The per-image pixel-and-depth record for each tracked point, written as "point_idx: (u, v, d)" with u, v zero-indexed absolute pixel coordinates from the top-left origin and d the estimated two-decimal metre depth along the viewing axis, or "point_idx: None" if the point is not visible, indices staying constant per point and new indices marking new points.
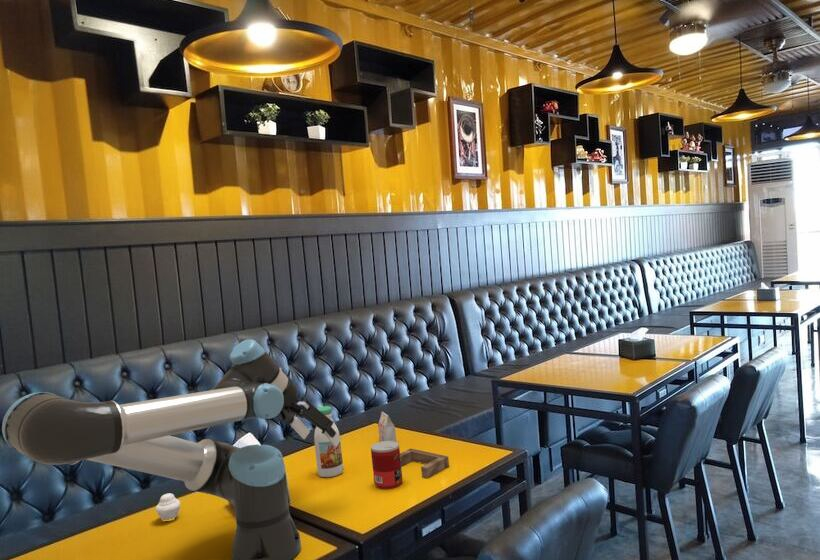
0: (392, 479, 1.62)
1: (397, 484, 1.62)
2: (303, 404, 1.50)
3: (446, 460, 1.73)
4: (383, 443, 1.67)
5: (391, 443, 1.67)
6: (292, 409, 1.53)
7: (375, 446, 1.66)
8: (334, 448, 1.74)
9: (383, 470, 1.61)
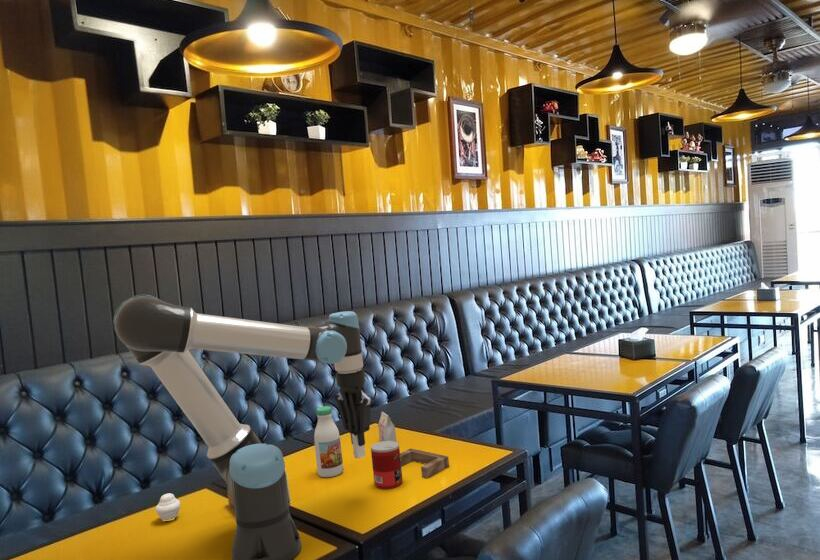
0: (392, 479, 1.62)
1: (397, 484, 1.62)
2: (368, 400, 1.52)
3: (446, 460, 1.73)
4: (383, 443, 1.67)
5: (391, 443, 1.67)
6: (353, 397, 1.54)
7: (375, 446, 1.66)
8: (334, 448, 1.74)
9: (383, 470, 1.61)
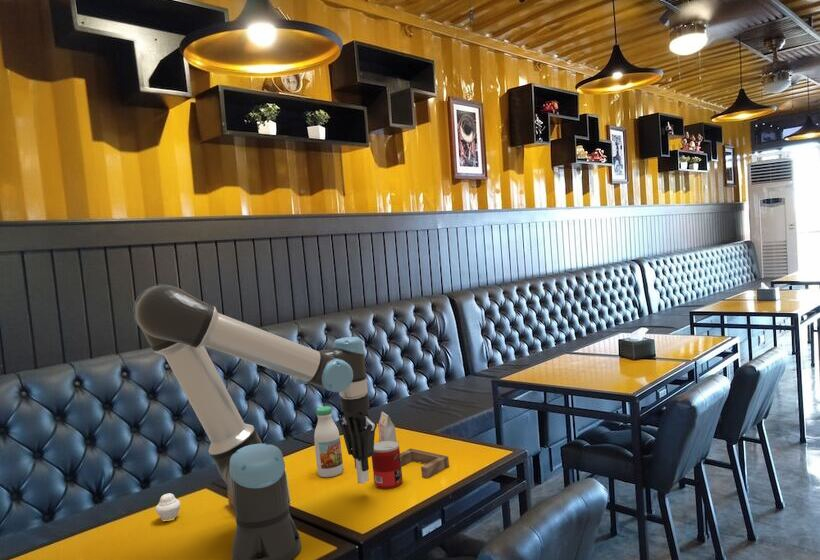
0: (392, 479, 1.62)
1: (397, 484, 1.62)
2: (372, 426, 1.53)
3: (446, 460, 1.73)
4: (383, 443, 1.67)
5: (391, 443, 1.67)
6: (357, 423, 1.55)
7: (375, 446, 1.66)
8: (334, 448, 1.74)
9: (383, 470, 1.61)
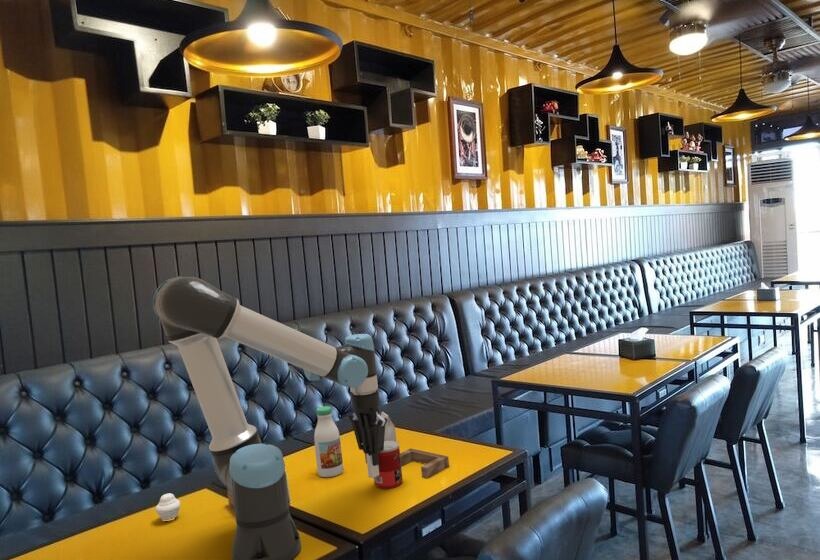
0: (392, 479, 1.62)
1: (397, 484, 1.62)
2: (383, 421, 1.56)
3: (446, 460, 1.73)
4: None
5: (391, 443, 1.67)
6: (368, 418, 1.58)
7: None
8: (334, 448, 1.74)
9: (383, 470, 1.61)
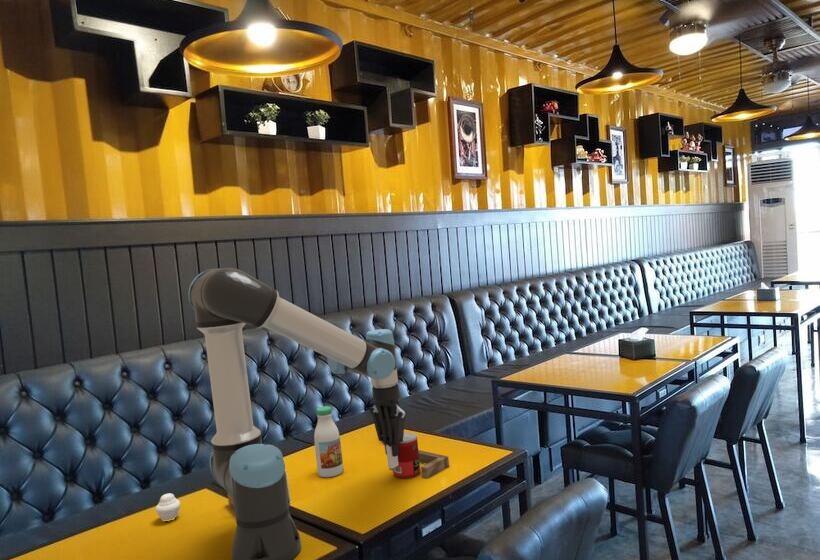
0: (411, 469, 1.67)
1: (415, 474, 1.68)
2: (403, 413, 1.61)
3: (446, 460, 1.73)
4: None
5: (409, 434, 1.72)
6: (388, 410, 1.63)
7: None
8: (334, 448, 1.74)
9: (402, 461, 1.67)
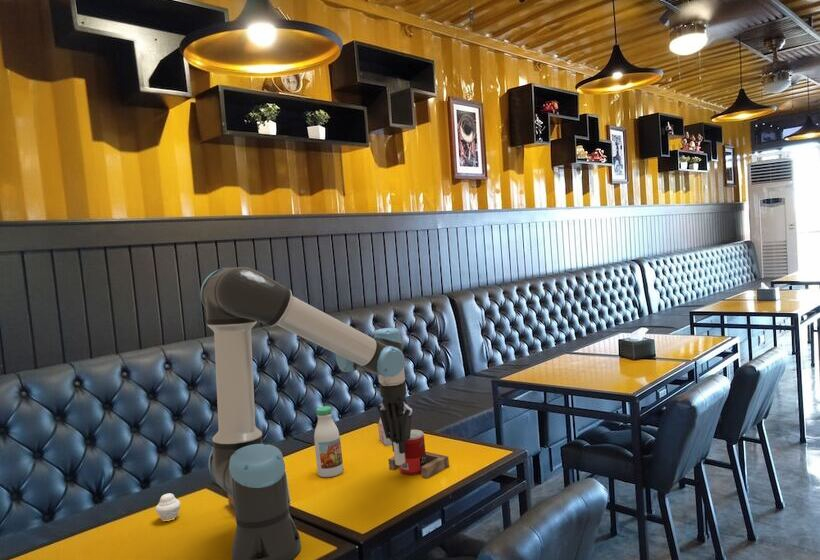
0: (418, 466, 1.70)
1: None
2: (410, 411, 1.64)
3: (446, 460, 1.73)
4: None
5: (415, 431, 1.75)
6: (395, 408, 1.66)
7: None
8: (334, 448, 1.74)
9: (409, 457, 1.69)
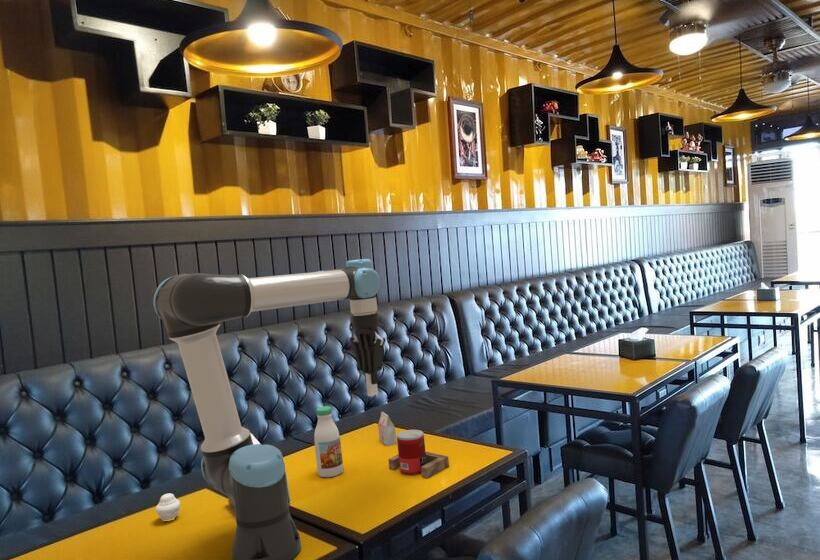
0: (418, 466, 1.70)
1: None
2: (381, 340, 1.63)
3: (446, 460, 1.73)
4: (408, 432, 1.75)
5: (415, 432, 1.75)
6: (367, 338, 1.65)
7: (401, 434, 1.74)
8: (334, 448, 1.74)
9: (409, 457, 1.69)
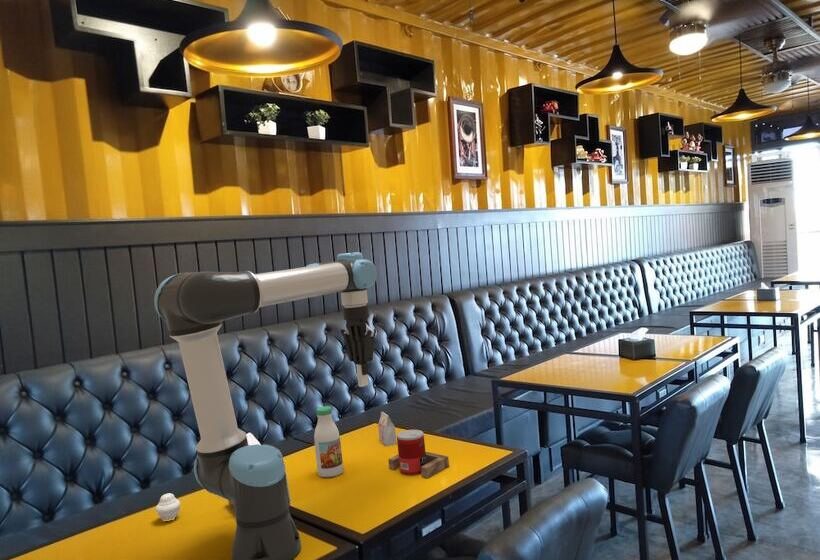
0: (418, 466, 1.70)
1: None
2: (372, 331, 1.67)
3: (446, 460, 1.73)
4: (408, 432, 1.75)
5: (415, 432, 1.75)
6: (358, 329, 1.69)
7: (401, 434, 1.74)
8: (334, 448, 1.74)
9: (409, 457, 1.69)
